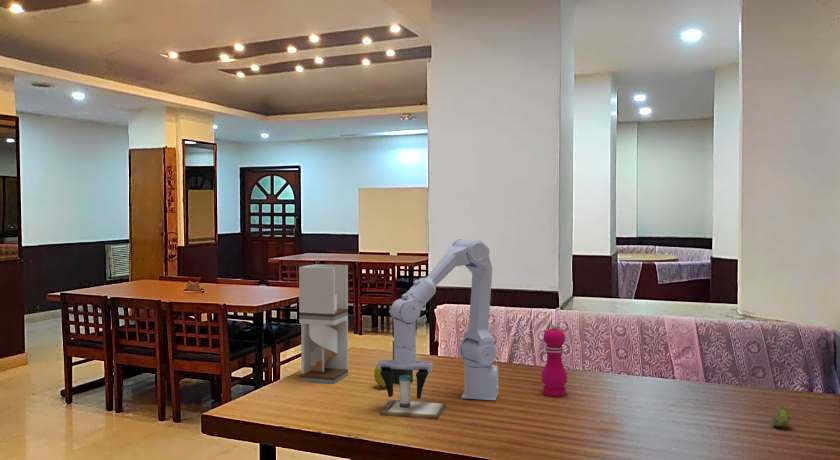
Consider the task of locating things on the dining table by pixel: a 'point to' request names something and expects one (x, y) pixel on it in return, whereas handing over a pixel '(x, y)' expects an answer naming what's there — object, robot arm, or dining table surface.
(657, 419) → the dining table surface
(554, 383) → the pepper mill
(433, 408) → the clipboard
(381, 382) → the lemon
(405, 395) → the marker
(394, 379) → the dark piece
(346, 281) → the white tiered tower model
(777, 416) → the lime
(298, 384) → the dining table surface
